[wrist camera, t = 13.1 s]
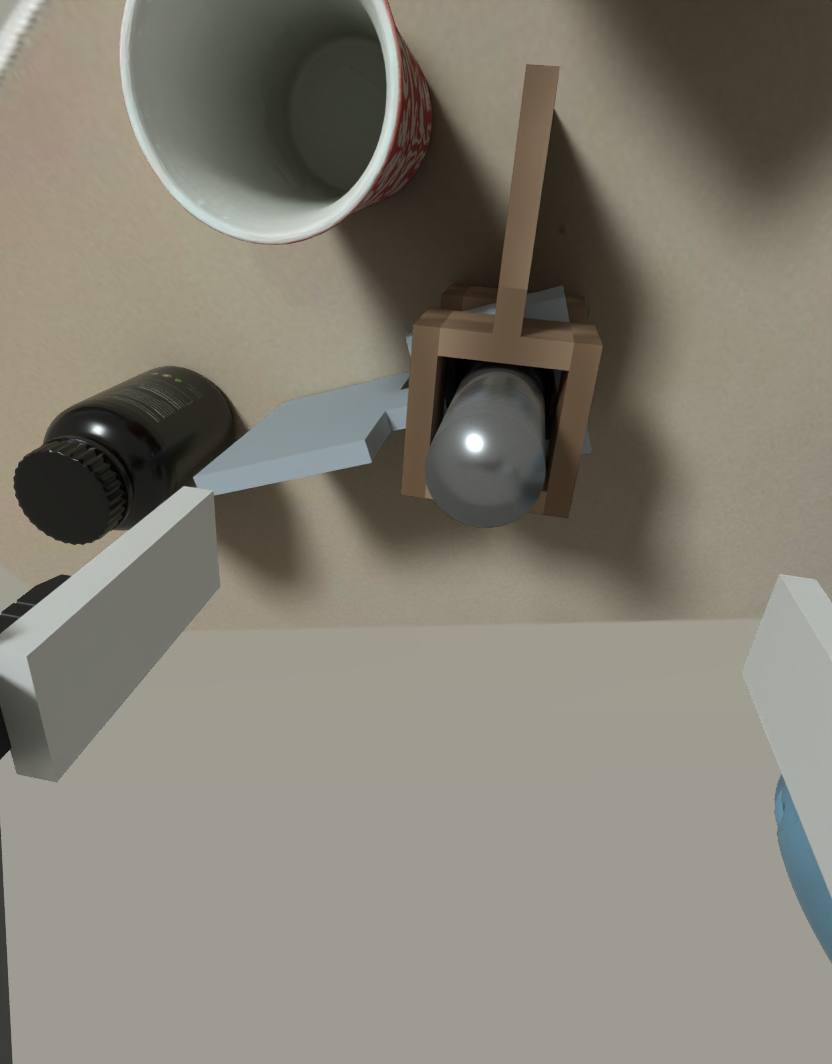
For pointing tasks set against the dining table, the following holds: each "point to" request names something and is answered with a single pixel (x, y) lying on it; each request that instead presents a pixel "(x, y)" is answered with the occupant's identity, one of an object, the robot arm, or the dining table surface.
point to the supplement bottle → (123, 454)
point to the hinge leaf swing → (344, 422)
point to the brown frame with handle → (509, 326)
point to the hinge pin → (490, 446)
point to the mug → (274, 109)
